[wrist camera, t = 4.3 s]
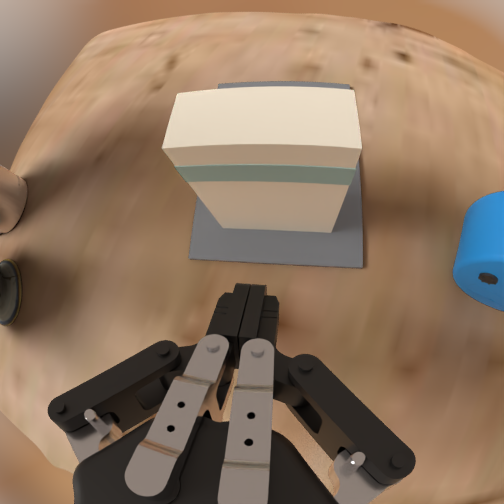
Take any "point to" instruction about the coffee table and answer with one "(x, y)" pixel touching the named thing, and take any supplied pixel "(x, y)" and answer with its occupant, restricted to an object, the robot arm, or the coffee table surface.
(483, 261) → the alarm clock
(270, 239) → the mat
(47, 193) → the coffee table surface
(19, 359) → the coffee table surface
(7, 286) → the apothecary jar
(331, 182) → the box
